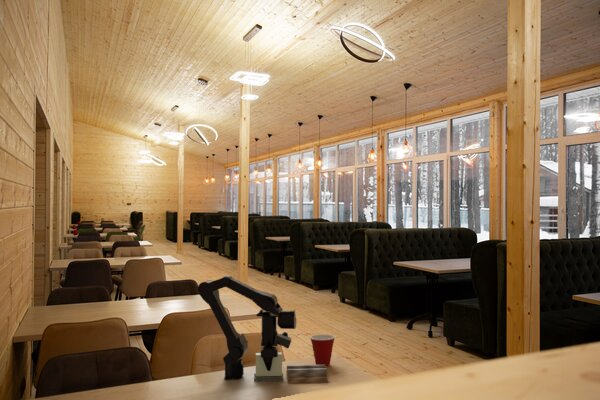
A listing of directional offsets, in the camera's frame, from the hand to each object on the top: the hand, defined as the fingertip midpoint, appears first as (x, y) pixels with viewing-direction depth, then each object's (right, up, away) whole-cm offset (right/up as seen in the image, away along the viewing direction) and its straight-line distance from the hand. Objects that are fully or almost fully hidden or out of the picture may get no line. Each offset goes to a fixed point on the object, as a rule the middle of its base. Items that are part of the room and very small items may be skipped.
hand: (268, 369), depth 172 cm
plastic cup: (+21, -5, +16) cm, 27 cm away
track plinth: (+14, -4, +1) cm, 15 cm away
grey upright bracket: (0, -3, 0) cm, 4 cm away
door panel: (0, -2, 0) cm, 2 cm away
